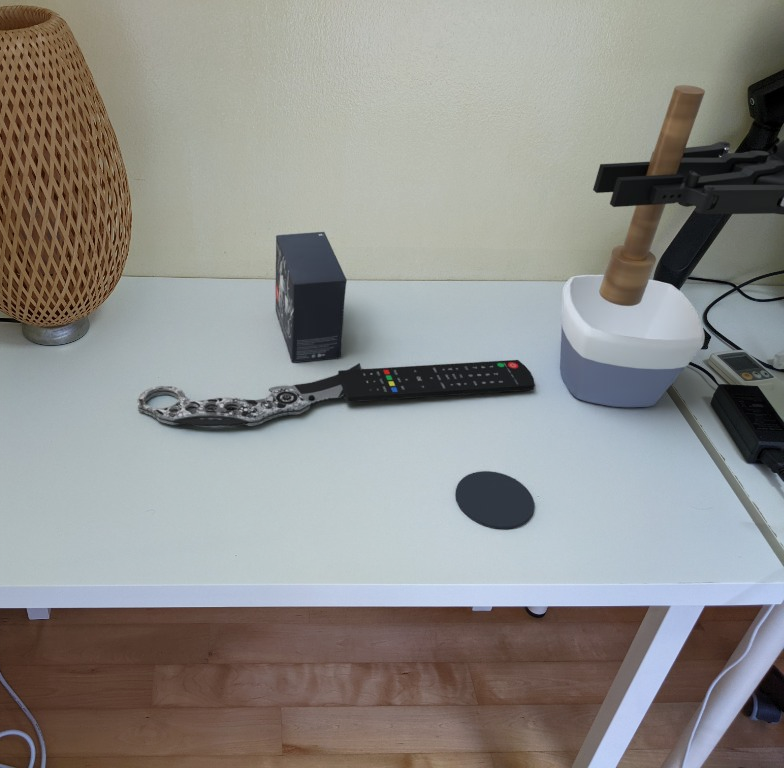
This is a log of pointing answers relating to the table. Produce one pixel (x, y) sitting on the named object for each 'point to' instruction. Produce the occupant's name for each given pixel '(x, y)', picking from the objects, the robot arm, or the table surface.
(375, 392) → the remote control
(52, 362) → the table surface
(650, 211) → the muddler
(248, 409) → the knife
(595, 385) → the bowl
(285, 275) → the small box
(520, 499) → the coaster
